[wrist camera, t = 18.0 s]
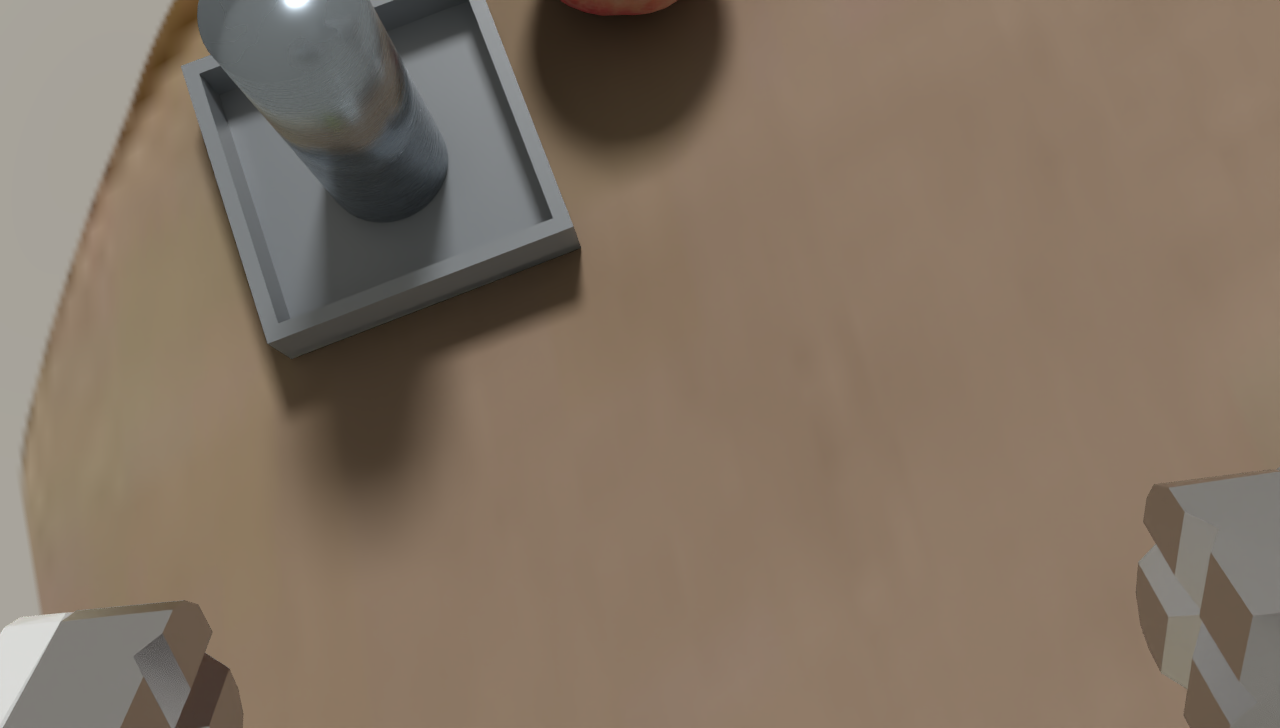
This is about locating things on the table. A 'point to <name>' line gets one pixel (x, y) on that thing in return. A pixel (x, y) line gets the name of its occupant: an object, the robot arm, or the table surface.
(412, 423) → the table surface
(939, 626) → the table surface
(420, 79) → the tray
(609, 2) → the fruit
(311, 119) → the canister
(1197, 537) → the robot arm
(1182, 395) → the table surface
